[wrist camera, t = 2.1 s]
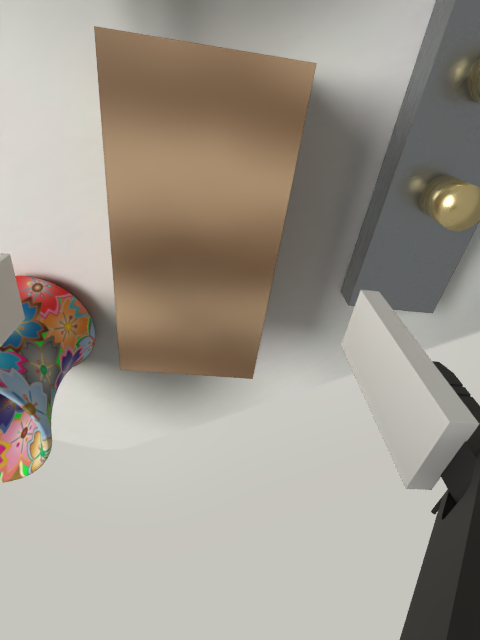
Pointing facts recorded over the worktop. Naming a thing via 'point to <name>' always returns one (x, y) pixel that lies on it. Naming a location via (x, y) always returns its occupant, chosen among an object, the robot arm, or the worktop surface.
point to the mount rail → (427, 172)
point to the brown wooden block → (195, 195)
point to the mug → (37, 372)
